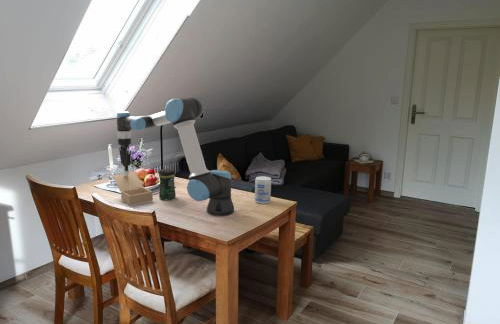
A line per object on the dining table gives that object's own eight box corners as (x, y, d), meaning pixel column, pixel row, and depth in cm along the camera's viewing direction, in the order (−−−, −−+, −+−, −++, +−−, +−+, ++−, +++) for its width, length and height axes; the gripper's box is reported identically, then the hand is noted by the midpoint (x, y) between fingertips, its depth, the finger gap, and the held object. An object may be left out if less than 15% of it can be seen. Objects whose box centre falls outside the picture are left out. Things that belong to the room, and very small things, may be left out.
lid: (135, 172, 244) (135, 172, 245) (113, 175, 235) (113, 176, 235) (143, 186, 239) (142, 187, 239) (120, 190, 229) (120, 191, 230)
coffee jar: (166, 201, 231) (165, 171, 227) (157, 198, 236) (156, 169, 232) (178, 197, 239) (177, 168, 235) (169, 195, 243) (168, 166, 239)
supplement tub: (257, 204, 228) (257, 180, 224) (252, 200, 236) (252, 176, 233) (272, 203, 230) (273, 179, 227) (267, 198, 239) (268, 175, 236)
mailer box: (152, 201, 231) (152, 191, 229) (130, 206, 222) (129, 196, 220) (143, 196, 240) (143, 187, 238) (121, 200, 231) (121, 191, 229)
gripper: (135, 138, 230) (136, 177, 236) (125, 135, 240) (127, 172, 245) (122, 139, 226) (124, 179, 231) (113, 136, 235) (115, 174, 241)
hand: (126, 175), depth 238 cm, fingers closed
